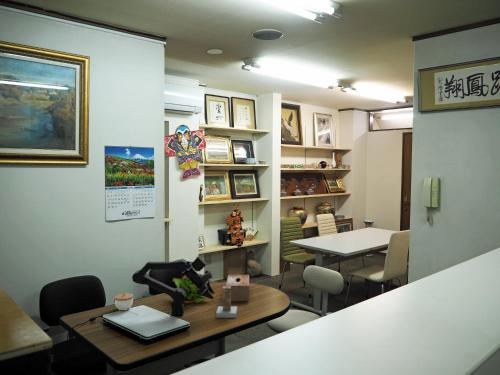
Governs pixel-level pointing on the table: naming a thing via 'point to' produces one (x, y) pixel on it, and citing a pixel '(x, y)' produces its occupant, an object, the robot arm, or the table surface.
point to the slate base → (226, 312)
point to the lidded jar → (123, 301)
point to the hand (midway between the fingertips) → (213, 296)
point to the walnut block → (226, 298)
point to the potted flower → (188, 290)
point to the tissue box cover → (239, 287)
